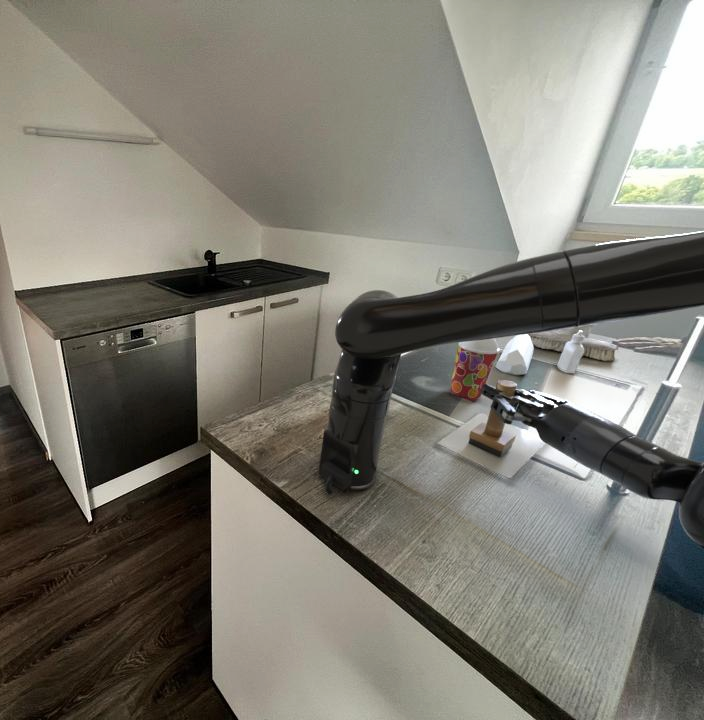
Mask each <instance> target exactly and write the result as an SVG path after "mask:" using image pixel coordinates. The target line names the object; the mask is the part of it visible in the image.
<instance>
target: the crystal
mask: <svg viewBox="0 0 704 720" xmlns="http://www.w3.org/2000/svg"><path fill="white" fill-rule="evenodd" d="M534 348H535V347H534V346H533V344H532V341H531V338H530V337H529V335H528V334H524V335H515V336H514V337H513V338H511V339H510V340H509V341H508V342H507V343H506V345H505V347H504V349H503V351H502V352H501V355H500V356H499V357H498V361H496V364H495V366H494V367H495V368H496V369H498V370H499V371H500V372H502V373H506V374H509V375H514V376H520V375H521V376H522V375H527V373H528V370H529V367H530V364H531V361H532V359H533V356H534Z"/></svg>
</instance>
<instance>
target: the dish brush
mask: <svg viewBox="0 0 704 720" xmlns="http://www.w3.org/2000/svg"><path fill="white" fill-rule="evenodd" d="M497 383H498V385H497V384H496V385H497V389H499V390H501V391H503V392H504V393H507V394H509V395H511V396H514V393H515V390H516V389H517V386H518V385H517V383H516V382H514V381H512V380H507V379H499V380H498V382H497ZM506 401H507V402H508V403H509V404H510V401H509V400H507V399H506ZM488 416H489V417H488V420H487V424H486V423H484V422H482V423H481V424H479V425H478V426H477V427H475V428H474V429H473V430H471V431H470V435H469V442H468V443H469V444H471V445H473V446H476V447H478V448H480V449H482V450H484V451H487V452H489V453H491V454H493V455H496V456H498V457H501V456H503V455H504V454H505V453H506V452H507V451H508V450H509V449H510V448H511V447H512V444H513V442H514V440H515V437H516V435H514V434H511V433H509V432H506V431H504V430H503V429H504V426H505V423H504V422H503V421H502V420H501V419H500V418H499V417H498V415H497V414H496V413H495V412H494V411H493V410H492V409H491V408H490V409H489V414H488Z"/></svg>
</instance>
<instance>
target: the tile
mask: <svg viewBox="0 0 704 720" xmlns="http://www.w3.org/2000/svg"><path fill="white" fill-rule="evenodd" d="M488 417H489V414H486V413H483V412H479V413H478V414H476V415H475V416H474V417H472V418H471V419H469V420H468V421H466V422H465V423H463V424H462V425H460V426H459V427H458V428H456V429H455V430H453V431H452V432H451V433H449V434H447V435H446V436H445V437H444V438H442V439H440V440H439V441H438V442H436V444H437V445H439V446H440V447H441V446H442V447H443V448H445V449H447V450H450V451H451V452H454V453H456V454H457V455H459V456H461V457H464V458H466V459H468V460H470V461H472V462H474V463H476V464H478V465H481V466H483V467H484V468H487V469H489V470H491V471H492V472H495V473H497V474H499V475H502V476H503V477H505V478H507V479H508V480H509V479H512V478H513V477H514V476H515V475H516V473H518V472H519V470H521V469H522V468H523V467H524V466H525V465H526V464H527V463H528V461H530V460H531V458H533V457H534V456H535V454H537V452H539V450H541V449H542V448H543V446H545V445H546V443H545V442H543V441H542V440H541V439H540V437H539V434H537V433H533V432H532V431H529V430H527V429H524V428H520V427H519V426H516V425H514V424H506V423H505V426H504V429H503V430H504V431H506V432H509V433H511V434H514V435H516V437H515V440H514V442H513V444H512V447H511V448H510V449H509V450H508V451H507V452H506V453H505V454H504V455H503V456H501V457H498V456H496V455H493V454H491V453H489V452H487V451H484V450H482V449H480V448H478V447H476V446H473V445H471V444H469V443H468V442H469V435H470V431H471V430H473V429H474V428H475V427H477V426H478V425H479V424H481V423H482V422H484V423H486V424H487V420H488Z"/></svg>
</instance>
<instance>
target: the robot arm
mask: <svg viewBox="0 0 704 720" xmlns="http://www.w3.org/2000/svg"><path fill="white" fill-rule="evenodd" d="M700 307H704V230H702V231H696V232H689V233H683V234H673V235H665V236H654V237H645V238H636V239H635V238H634V239H626V240H619V241H610V242H603V243H599V244H598V243H596V244H590V245H585V246H578V247H573V248H569V249H563V250H559V251H554V252H549V253H545V254H542V255H536V256H534V257H533V256H532V257H529V258H525V259H520V260H516V261H513V262H510V263H507V264H504V265H501V266H498V267H495V268H492V269H489V270H487V271H485V272H482V273H478V274H476V275H474V276H472V277H469V278H467V279H464V280H462V281H459V282H457V283H455V284H452V285H450V286H447V287H442V288H441V289H437V290H434V291H433V290H432V291H430V292H425V293H419V294H414V295H413V294H412V295H406V296H401V297H398V296H397V295H395V294H394V293H392V292H389V291H388V290H381V289H373V290H368V291H366V292H363V293H361V294H359V295H358V296H357V297H355V298H354V299H353V300H352V301H351V302H350V303H349V304H348V305H347V306H346V307H345V308H344V309H343V310H342V312H341V313H340V314H339V317H338V319H337V321H336V325H335V328H334V331H335V332H334V337H335V341H336V343H337V344H338V346H339V347H340V349H341V352H340V355H339V359H338V362H337V365H336V368H335V370H334V373H333V374H334V375H333V382H332V391H331V398H330V404H329V411H328V417H327V418H328V419H327V427H326V429H324V430H323V436H322V442H321V450H320V458H319V465H318V475H319V476H321V477H322V478H324V479H326V481H325V485H324V488H325V491H326V492H327V494H328V495H332V494H333V493H334V491H333V489H332V488H331V486H332V484H333V486H335V487H337V488H338V489H339V490H341V491H343V492H344V493H348V492H349V491H363V490H367V489H369V488H371V487H372V486H373V485H374V483H375V481H376V477H377V476H376V475H377V474H376V473H377V468H378V463H379V458H380V454H381V448H382V444H383V440H384V439H383V438H384V434H385V428H386V424H387V419H388V415H389V414H388V413H389V409H390V404H391V400H392V395H393V389H394V387H395V383H396V379H397V375H398V371H399V366H400V361H401V357H402V354H407V353H410V352H414V351H420V350H424V349H428V348H432V347H438V346H442V345H449V344H455V343H456V344H457V343H459V342H467V341H477V340H486V339H493V338H495V339H500V338H507V337H508V338H509V337H513V336H514V337H515V336H517V335H524V334H534V333H541V332H542V333H543V332H557V331H559V330H564V329H571V328H574V327H575V328H578V327H584V326H589V325H593V326H594V325H600V324H606V323H613V322H620V321H626V320H632V319H637V318H645V317H651V316H656V315H662V314H667V313H672V312H677V311H682V310H687V309H694V308H700ZM497 385H498V382H497V383H496V386H493V385H491V384H490V383H486V384H483V385H482V389H481V396H484V397H485V398H488V399H489V400H491V401H492V402H491V404H490V410H491V409H492V410H493V411H494V412H495V413H496V414H497V415H498V417H499V418H500V419H501V420H502V421H503V422H504V423H506V424H511V425H513V422H514V421H516V422H521V423H522V424H523V425H525V426H528V427H531V428H533V429H535V430H536V431H537V435H539V437H540V439H541V440H542V441H543V442H545V445H548V446H550V447H552V448H554V449H555V450H557V451H558V452H560V453H561V454H563V455H565V456H567V457H568V458H570V459H572V460H573V461H575V462H577V463H579V464H580V465H582V466H583V467H586V468H588V469H590V470H591V471H594V472H597V473H599V474H600V475H602V476H604V477H606V478H607V479H609V480H611V481H612V482H614V483H616V484H618V485H619V486H620V487H623V488H624V489H626V490H628V491H630V492H631V493H633V494H636V495H637V496H640V497H641V498H643V499H648V500H658V501H663V500H664V501H671V502H672V501H673V502H677V503H679V504H678V505H679V506H678V517H679V521H680V522H679V523H680V524H681V526H682V527H681V528H682V529H683V531H684V532H685V533H686V535H687V536H688V537H689V538H690V540H692V541H693V543H695V544H697V546H699V547H701V548H702V549H704V462H701V461H699V460H694V459H691V458H687V457H684V456H680V455H678V454H676V453H674V452H671V451H669V450H668V449H666V448H663V447H661V446H659V445H658V444H655V443H654V442H651V441H649V440H647V439H645V438H642V437H641V436H638V435H636V434H635V433H633V432H631V431H630V430H628V429H627V428H624V427H623V426H621V425H619V424H617V423H615V422H613V421H611V420H610V419H608V418H607V419H606V418H605V417H602V416H600V415H598V414H596V413H595V412H592V411H590V410H587V409H585V408H584V407H581V406H579V405H577V404H575V403H572V402H571V401H570V400H568V399H563V398H560V397H557V396H554V395H551V394H548V393H545V392H541V391H539V390H535V389H529V391H528V390H525V389H521V388H520V389H518V388H516V390H515V393H514V396H511V395H509V394H507V393H504V392H503V391H501V390H499V389H497ZM506 399H507V400H509V401H510V404H509V403H508V402H507V401H506Z"/></svg>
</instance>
